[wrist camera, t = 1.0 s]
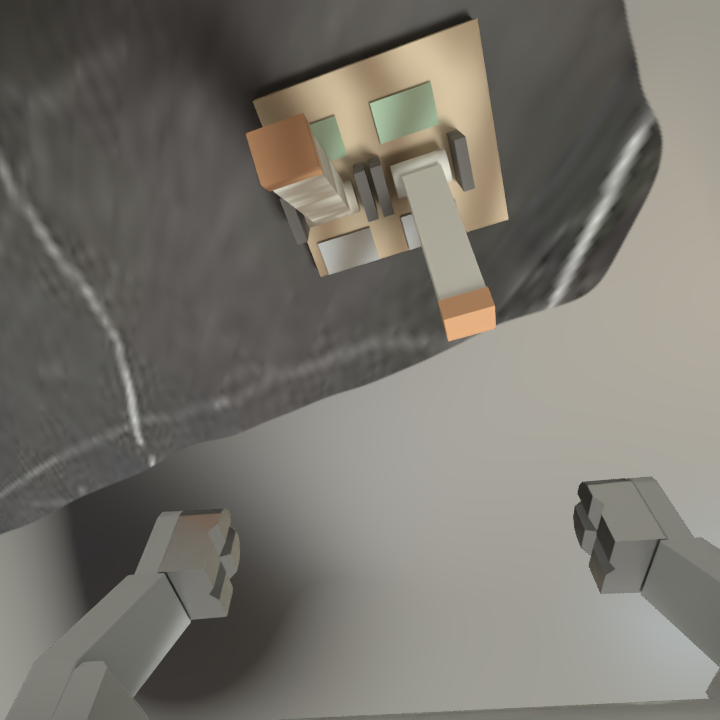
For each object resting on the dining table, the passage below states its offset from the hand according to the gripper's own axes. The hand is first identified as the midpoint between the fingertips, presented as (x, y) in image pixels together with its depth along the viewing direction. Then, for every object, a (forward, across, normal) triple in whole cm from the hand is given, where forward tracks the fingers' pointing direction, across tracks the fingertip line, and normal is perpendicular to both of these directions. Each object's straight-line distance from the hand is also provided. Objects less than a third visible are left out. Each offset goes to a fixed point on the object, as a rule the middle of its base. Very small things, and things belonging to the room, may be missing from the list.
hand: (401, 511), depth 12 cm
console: (+34, +1, 0) cm, 34 cm away
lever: (+31, +3, 0) cm, 32 cm away
